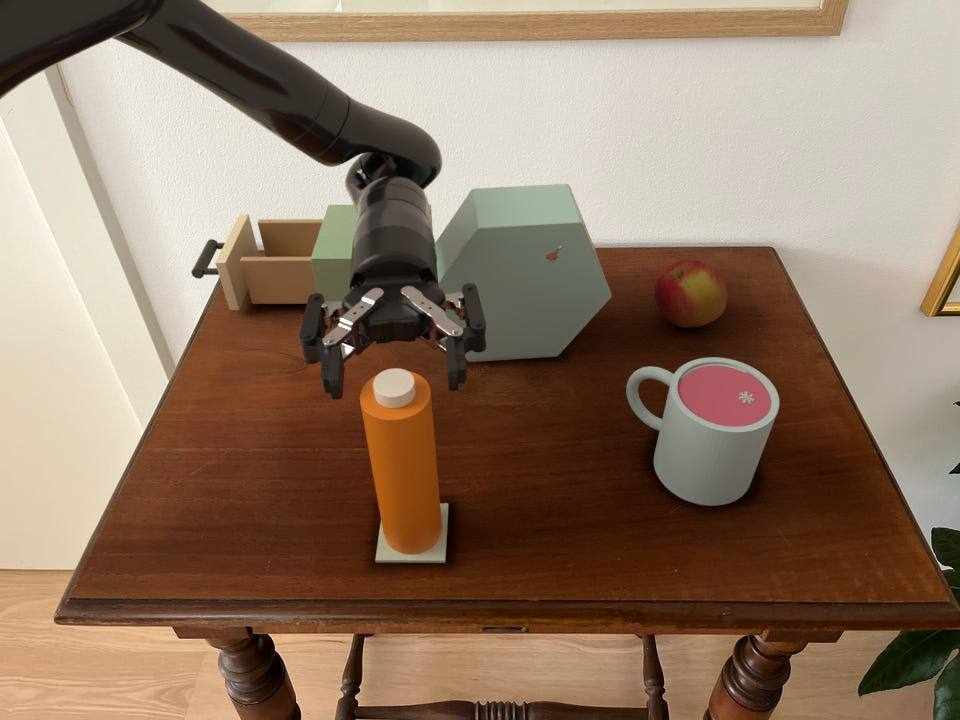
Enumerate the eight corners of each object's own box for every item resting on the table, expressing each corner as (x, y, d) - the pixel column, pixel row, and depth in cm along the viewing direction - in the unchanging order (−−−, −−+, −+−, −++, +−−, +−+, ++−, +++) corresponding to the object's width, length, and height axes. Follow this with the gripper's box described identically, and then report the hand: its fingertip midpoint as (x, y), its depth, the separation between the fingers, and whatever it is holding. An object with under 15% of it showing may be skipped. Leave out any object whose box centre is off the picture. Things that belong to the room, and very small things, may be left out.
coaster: (375, 562, 62) (375, 560, 62) (383, 505, 67) (383, 502, 67) (445, 563, 62) (445, 560, 62) (448, 505, 67) (448, 503, 66)
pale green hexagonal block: (521, 344, 90) (629, 218, 79) (530, 387, 84) (647, 258, 74) (401, 291, 83) (501, 144, 72) (402, 334, 77) (510, 182, 67)
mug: (768, 461, 70) (797, 387, 63) (723, 522, 65) (749, 449, 58) (645, 397, 77) (659, 324, 70) (595, 447, 72) (606, 374, 65)
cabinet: (322, 319, 87) (310, 258, 81) (338, 263, 96) (328, 204, 90) (428, 319, 87) (424, 258, 81) (434, 263, 96) (430, 204, 90)
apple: (671, 293, 90) (682, 238, 85) (731, 320, 86) (746, 264, 81) (637, 322, 86) (647, 266, 81) (698, 352, 82) (712, 295, 77)
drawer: (195, 310, 87) (178, 262, 83) (219, 260, 95) (205, 214, 91) (325, 310, 87) (316, 262, 82) (339, 259, 95) (331, 213, 90)
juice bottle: (372, 541, 64) (343, 394, 51) (402, 497, 67) (382, 350, 55) (424, 563, 62) (407, 417, 50) (452, 517, 65) (442, 370, 53)
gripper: (305, 228, 61) (285, 355, 50) (473, 218, 62) (492, 341, 50) (320, 299, 67) (304, 429, 55) (474, 288, 67) (492, 415, 55)
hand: (395, 387), depth 52 cm, fingers open, 8 cm apart
